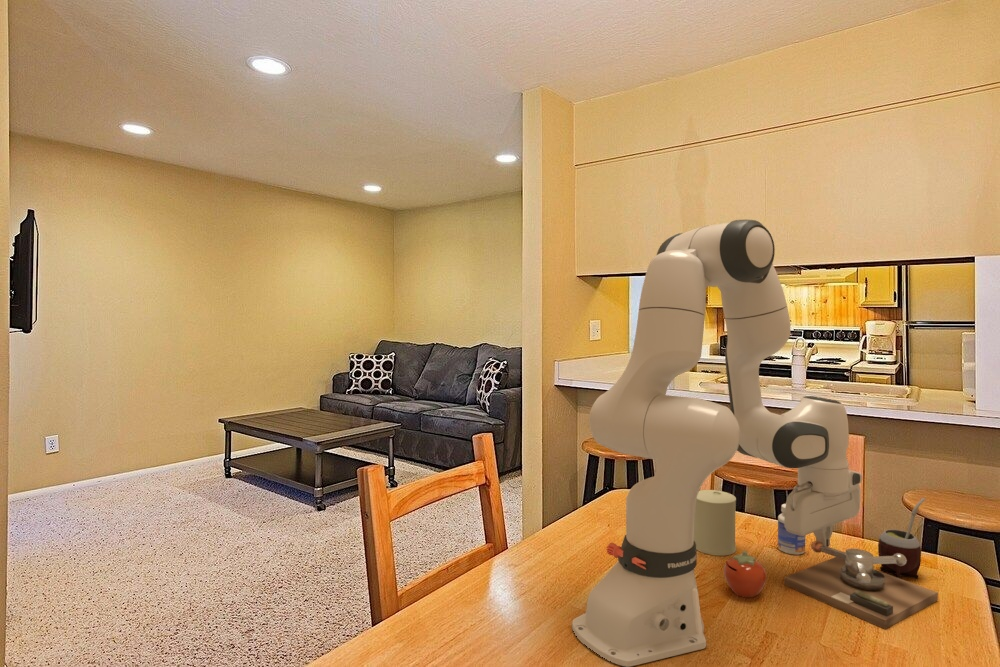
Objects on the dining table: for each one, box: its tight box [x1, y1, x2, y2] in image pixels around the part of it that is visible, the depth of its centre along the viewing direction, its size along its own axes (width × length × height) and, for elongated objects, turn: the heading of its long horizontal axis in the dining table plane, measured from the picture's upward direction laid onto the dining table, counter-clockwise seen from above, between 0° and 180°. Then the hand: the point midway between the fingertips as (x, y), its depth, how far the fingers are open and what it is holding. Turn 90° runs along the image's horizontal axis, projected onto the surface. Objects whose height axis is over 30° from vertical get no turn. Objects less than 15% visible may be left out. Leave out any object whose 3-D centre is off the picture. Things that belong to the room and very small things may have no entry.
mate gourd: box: [877, 497, 926, 579], centre depth 116 cm, size 8×8×15 cm
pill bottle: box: [777, 503, 806, 556], centre depth 127 cm, size 5×5×10 cm
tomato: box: [723, 550, 767, 599], centre depth 109 cm, size 7×7×8 cm
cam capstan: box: [810, 540, 907, 590], centre depth 110 cm, size 16×14×6 cm
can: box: [694, 489, 737, 557], centre depth 129 cm, size 9×9×12 cm
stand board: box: [783, 556, 939, 630], centre depth 108 cm, size 18×18×4 cm
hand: (822, 546), depth 115 cm, fingers closed, pressing on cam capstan
